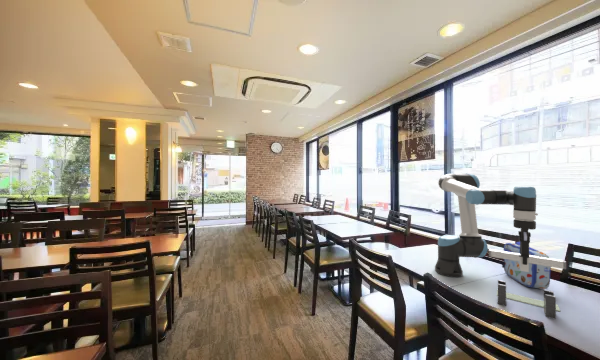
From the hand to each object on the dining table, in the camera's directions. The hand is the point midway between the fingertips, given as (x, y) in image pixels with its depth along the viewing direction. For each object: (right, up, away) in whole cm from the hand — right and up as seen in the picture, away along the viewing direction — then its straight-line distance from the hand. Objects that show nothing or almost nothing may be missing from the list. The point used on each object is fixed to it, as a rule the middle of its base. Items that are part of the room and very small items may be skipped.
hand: (524, 269), depth 109 cm
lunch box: (+27, -18, +28) cm, 43 cm away
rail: (0, +4, 0) cm, 4 cm away
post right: (+6, -18, -5) cm, 20 cm away
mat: (+7, -18, +7) cm, 20 cm away
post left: (-6, -18, +5) cm, 19 cm away
